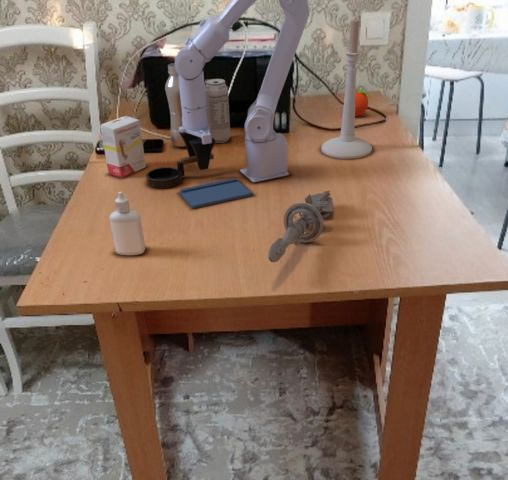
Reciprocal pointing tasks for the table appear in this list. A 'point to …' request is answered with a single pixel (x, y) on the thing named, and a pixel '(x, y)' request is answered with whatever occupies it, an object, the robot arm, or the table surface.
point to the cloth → (214, 193)
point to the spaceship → (302, 223)
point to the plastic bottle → (174, 105)
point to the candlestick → (349, 110)
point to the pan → (169, 174)
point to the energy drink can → (218, 110)
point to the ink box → (123, 146)
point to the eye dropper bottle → (126, 228)
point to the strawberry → (360, 102)
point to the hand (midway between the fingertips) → (199, 164)
